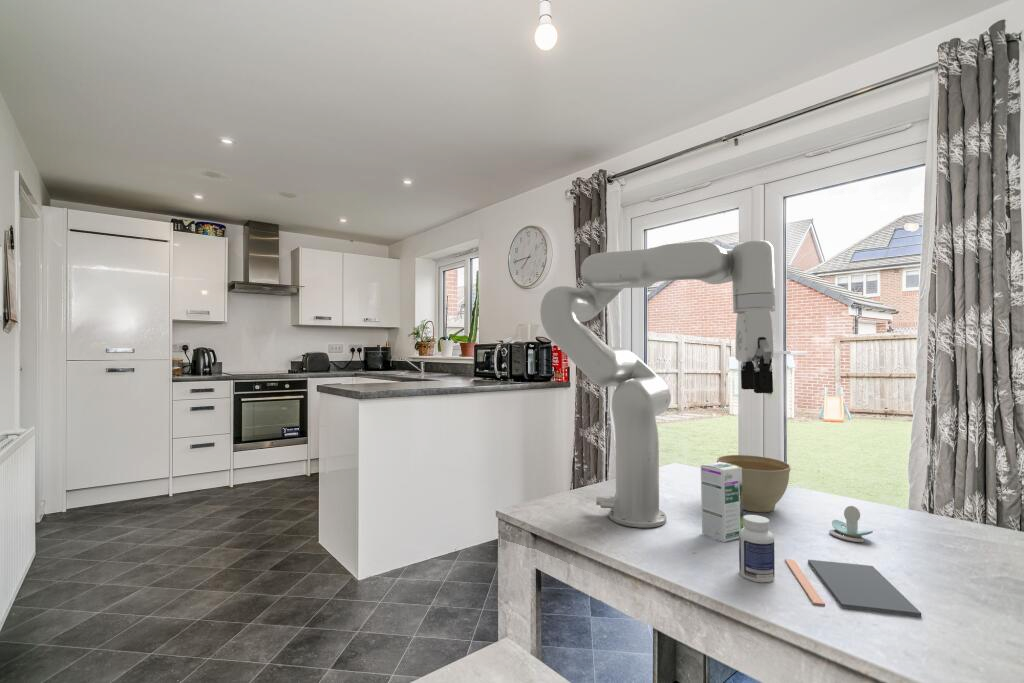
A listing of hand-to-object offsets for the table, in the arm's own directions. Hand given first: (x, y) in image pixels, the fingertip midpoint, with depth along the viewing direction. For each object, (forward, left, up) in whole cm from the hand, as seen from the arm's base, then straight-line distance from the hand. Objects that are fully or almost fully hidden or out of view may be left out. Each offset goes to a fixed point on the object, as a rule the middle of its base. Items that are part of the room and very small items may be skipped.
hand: (756, 391), depth 98 cm
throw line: (+4, -15, -30) cm, 34 cm away
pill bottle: (-3, -15, -30) cm, 34 cm away
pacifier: (+19, +9, -30) cm, 37 cm away
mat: (+12, -15, -30) cm, 36 cm away
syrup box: (-6, +3, -30) cm, 31 cm away
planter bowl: (+4, +25, -30) cm, 39 cm away
